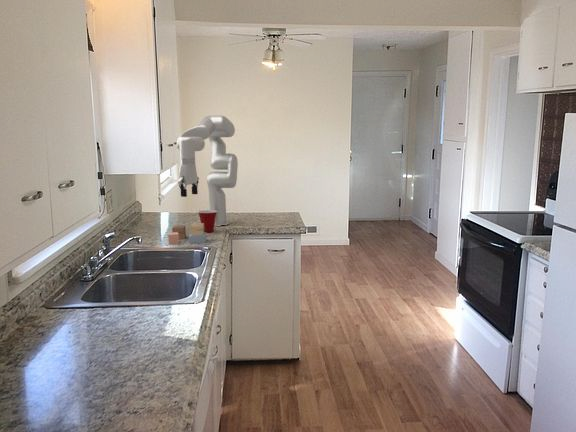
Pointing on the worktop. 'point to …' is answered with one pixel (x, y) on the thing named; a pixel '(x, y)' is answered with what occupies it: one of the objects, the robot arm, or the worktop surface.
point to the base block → (198, 238)
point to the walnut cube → (180, 231)
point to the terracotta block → (173, 238)
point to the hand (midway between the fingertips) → (189, 195)
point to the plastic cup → (208, 219)
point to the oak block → (197, 229)
